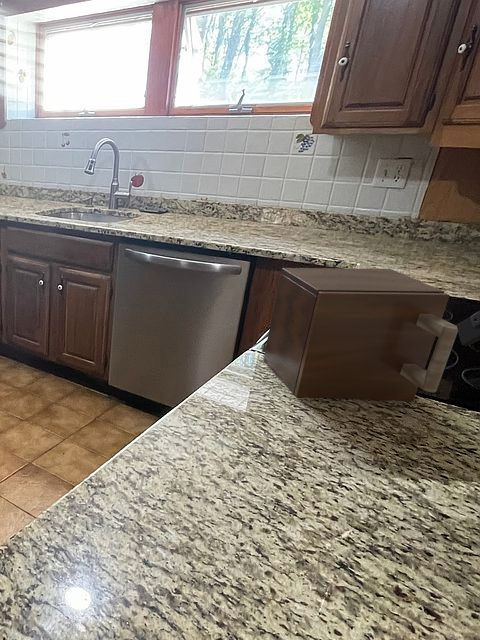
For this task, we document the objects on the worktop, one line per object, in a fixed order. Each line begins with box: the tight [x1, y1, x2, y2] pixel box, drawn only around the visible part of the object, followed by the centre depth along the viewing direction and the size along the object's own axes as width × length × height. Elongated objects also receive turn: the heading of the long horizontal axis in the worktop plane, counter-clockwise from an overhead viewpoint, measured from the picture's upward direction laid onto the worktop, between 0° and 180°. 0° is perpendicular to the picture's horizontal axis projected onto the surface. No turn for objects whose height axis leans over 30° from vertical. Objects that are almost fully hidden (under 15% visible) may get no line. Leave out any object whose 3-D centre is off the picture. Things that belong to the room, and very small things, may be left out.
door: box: [293, 292, 458, 402], centre depth 79 cm, size 7×18×18 cm, turn 84°
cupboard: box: [262, 267, 445, 395], centre depth 89 cm, size 14×18×18 cm
